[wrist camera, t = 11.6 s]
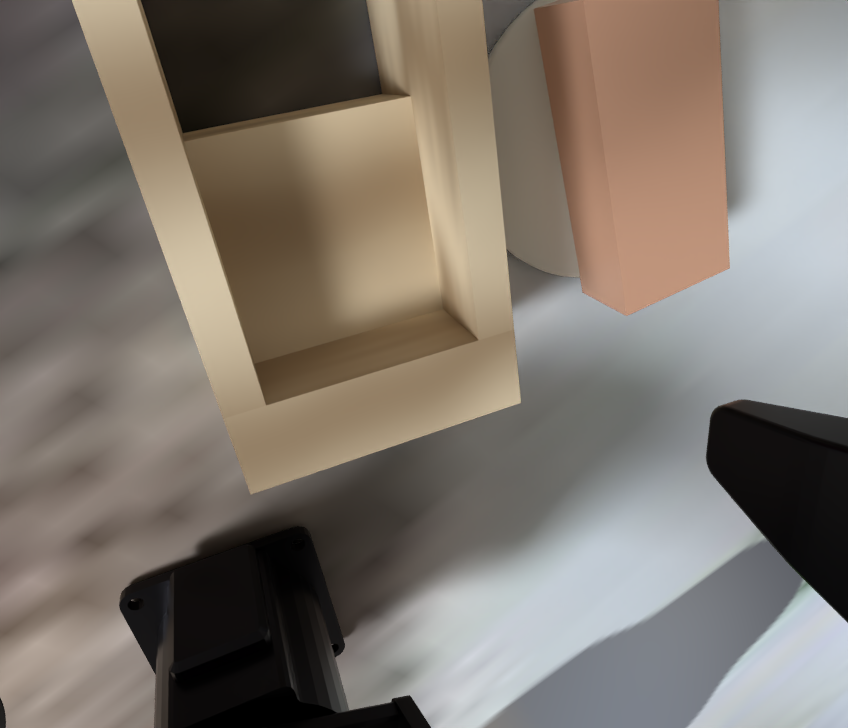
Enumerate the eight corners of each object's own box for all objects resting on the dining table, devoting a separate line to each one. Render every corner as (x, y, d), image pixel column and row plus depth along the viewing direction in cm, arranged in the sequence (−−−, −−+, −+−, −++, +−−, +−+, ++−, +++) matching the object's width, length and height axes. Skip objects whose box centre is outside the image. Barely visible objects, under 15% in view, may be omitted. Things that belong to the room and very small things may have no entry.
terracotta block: (677, 249, 23) (729, 268, 20) (582, 292, 22) (626, 315, 20) (652, -34, 18) (716, -49, 16) (533, 8, 18) (583, -1, 15)
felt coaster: (699, 238, 23) (711, 241, 23) (481, 301, 21) (489, 307, 21) (714, -44, 19) (729, -47, 19) (446, 0, 17) (454, -2, 17)
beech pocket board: (452, 337, 22) (521, 402, 17) (234, 403, 20) (250, 494, 15) (354, -326, 14) (433, -504, 10) (-16, -315, 12) (-120, -528, 8)
